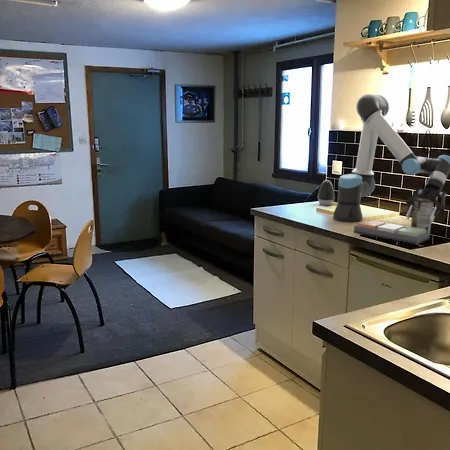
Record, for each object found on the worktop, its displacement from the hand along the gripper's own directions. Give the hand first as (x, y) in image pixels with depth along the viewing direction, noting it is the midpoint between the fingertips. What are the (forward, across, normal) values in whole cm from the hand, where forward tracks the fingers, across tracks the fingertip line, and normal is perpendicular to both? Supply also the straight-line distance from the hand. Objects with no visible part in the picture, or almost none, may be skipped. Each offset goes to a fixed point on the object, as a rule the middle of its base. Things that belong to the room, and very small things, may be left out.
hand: (418, 219), depth 227 cm
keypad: (+14, +7, +4) cm, 16 cm away
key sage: (+13, -3, +6) cm, 14 cm away
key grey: (+13, +7, +6) cm, 16 cm away
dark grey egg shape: (-21, +73, -31) cm, 82 cm away
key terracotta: (+13, +17, +6) cm, 22 cm away
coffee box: (+3, 0, -7) cm, 8 cm away
